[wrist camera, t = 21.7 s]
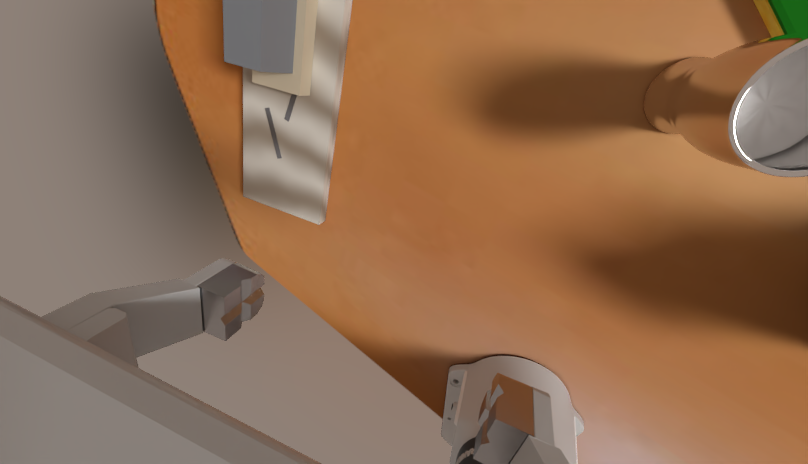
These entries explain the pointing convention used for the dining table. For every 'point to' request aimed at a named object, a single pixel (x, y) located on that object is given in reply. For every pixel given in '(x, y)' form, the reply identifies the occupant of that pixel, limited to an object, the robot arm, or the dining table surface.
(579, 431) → the robot arm
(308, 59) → the block
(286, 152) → the marked board
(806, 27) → the dish sponge
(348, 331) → the dining table surface
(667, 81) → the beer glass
